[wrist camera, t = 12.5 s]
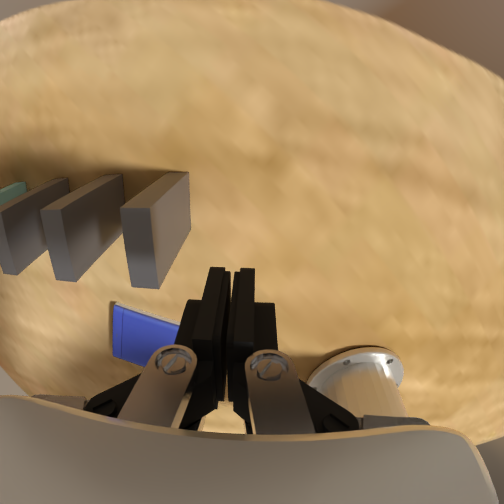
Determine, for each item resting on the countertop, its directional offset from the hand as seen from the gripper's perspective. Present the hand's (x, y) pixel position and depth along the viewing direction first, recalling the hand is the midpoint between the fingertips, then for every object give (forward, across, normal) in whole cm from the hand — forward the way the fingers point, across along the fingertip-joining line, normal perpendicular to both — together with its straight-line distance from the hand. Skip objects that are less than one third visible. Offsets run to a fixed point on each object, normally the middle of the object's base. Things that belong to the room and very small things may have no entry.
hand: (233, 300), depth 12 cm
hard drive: (+15, +8, +17) cm, 24 cm away
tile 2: (+15, +12, +1) cm, 19 cm away
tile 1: (+14, +6, +1) cm, 16 cm away
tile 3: (+15, +18, +1) cm, 23 cm away
